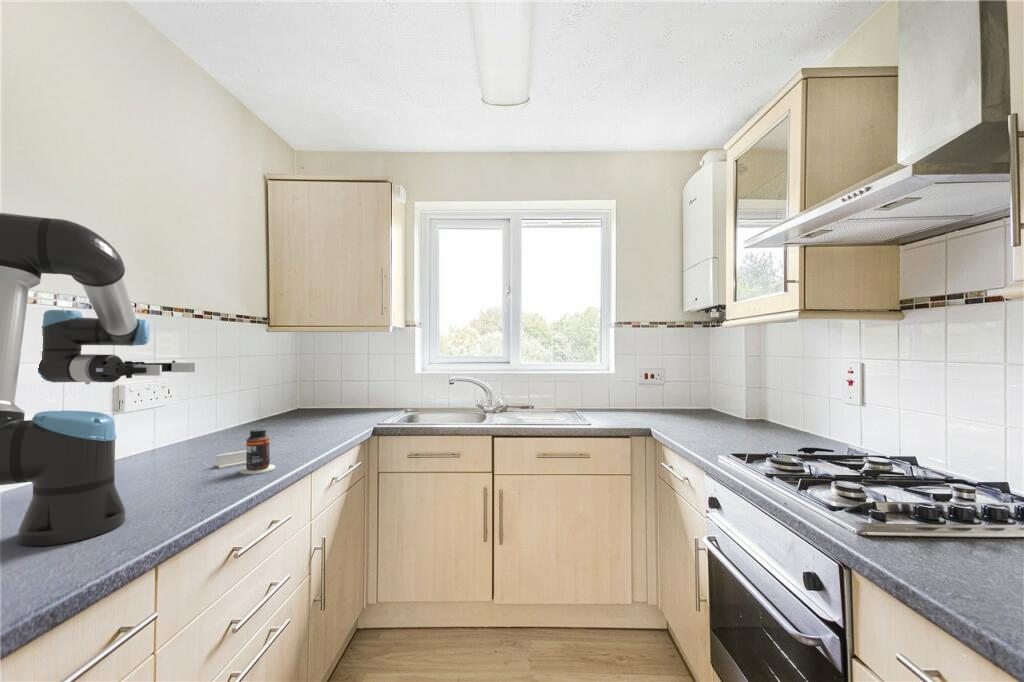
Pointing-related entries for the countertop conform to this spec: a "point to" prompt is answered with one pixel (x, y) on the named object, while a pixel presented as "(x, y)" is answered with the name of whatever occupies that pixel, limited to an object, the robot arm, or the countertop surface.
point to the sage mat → (268, 469)
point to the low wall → (231, 459)
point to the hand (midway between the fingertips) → (179, 368)
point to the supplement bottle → (257, 450)
